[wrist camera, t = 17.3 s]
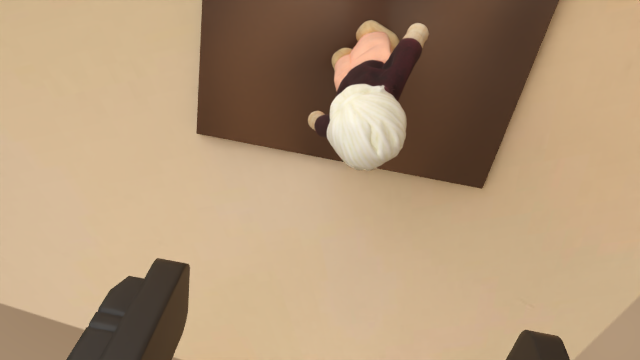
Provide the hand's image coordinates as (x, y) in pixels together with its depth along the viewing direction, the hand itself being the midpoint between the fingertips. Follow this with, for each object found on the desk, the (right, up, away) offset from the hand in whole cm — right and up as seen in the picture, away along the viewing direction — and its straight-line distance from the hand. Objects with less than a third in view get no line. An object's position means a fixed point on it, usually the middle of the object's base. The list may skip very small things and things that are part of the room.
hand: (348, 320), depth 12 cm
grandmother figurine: (+2, +11, +19) cm, 22 cm away
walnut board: (+2, +12, +19) cm, 22 cm away
